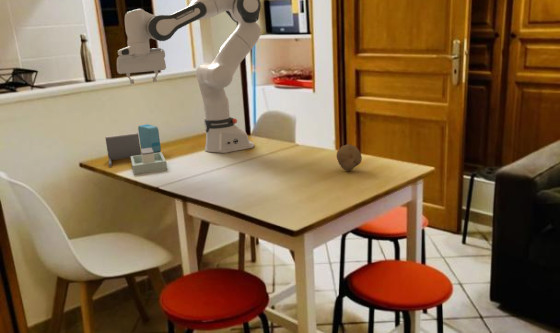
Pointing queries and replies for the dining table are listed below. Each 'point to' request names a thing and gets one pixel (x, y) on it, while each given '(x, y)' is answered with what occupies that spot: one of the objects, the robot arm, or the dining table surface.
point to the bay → (122, 146)
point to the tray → (148, 164)
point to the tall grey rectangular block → (147, 155)
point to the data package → (149, 137)
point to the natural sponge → (348, 157)
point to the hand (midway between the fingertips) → (143, 82)
